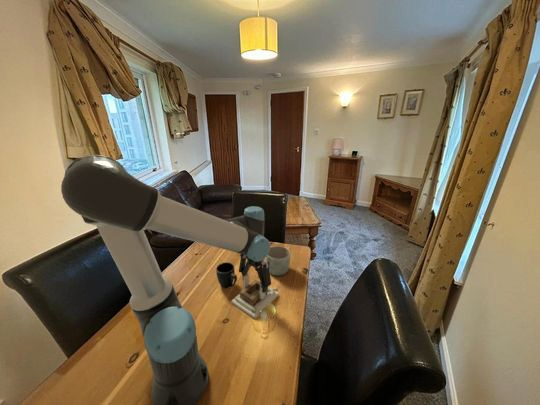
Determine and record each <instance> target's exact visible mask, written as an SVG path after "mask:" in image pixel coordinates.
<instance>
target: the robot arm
mask: <svg viewBox="0 0 540 405" xmlns="http://www.w3.org/2000/svg"><path fill="white" fill-rule="evenodd" d="M60 188H61V189H60V190H61V195H62V199H63V201H64V202H65V204H66V205H67V206H68V207H69V208H70V209H71V210H72V211H73V212H75V213H76V214H77V215H79V216H80V217H81V218H82V220H83V222H84V223H85V224H88V225H91V226H96V228H97V230H98V233H99V235H100V236H101V238H102V240H103V243H104V244H105V247H106V248H107V249H108V251H109V253H110V255H111V257H112V259H113V261H114V262H115V265H116V267H117V269H118V271H119V272H120V275H121V276H122V278H123V280H124V282H125V284H126V286H127V288H128V290H129V291H130V294H131V296H130V299H129V307H130V308H131V310H132V312H133V314H134V315H135V317H136V319H137V321H138V324H139V327H140V330H141V334H142V337H143V343H144V347H145V351H146V352H147V355H148V361H149V363H150V367H151V371H152V375H153V378H152V384H151V388H150V399H151V402H152V405H197V404H198V403H199V402H200V401H201V399H202V398H203V395H204V394H205V392H206V390H207V387H208V383H209V368H208V365H207V363H206V361H205V359H204V358H203V357H202V355H201V354H200V352H199V347H198V338H197V332H196V330H197V327H196V323H195V320H194V318H193V315H192V313H191V312H190V311H189V310H188V309H186V308H185V307H183V305H182V304H181V301H180V300H179V298H178V295H177V293H176V290H175V288H174V285H173V283H172V281H171V280H170V279H169V278H164V276H163V273H162V271H161V269H160V266H159V264H158V262H157V259H156V257H155V254H154V252H153V250H152V247H151V245H150V242H149V240H148V237H147V235H146V233H145V230H149V231H154V232H157V233H161V234H164V235H169V236H171V237H172V236H173V237H176V238H180V239H183V240H188V241H192V242H195V243H199V244H202V245H203V244H204V245H207V246H210V247H215V248H218V249H223V250H226V251H230V252H232V253H233V252H234V253H237V254H239V255H240V256H239V257H240V258H239V259H240V261H239V266H238V273H241V276H242V281H243V289H245V288H246V287H247V286H249V285H250V273H249V270H250V269H251V267H253V268H254V270H255V272H256V273H257V275H258V279H259V282H261V285H260V299H261V300H262V299H263V298H264V297H265V292H266V291H267V287H270V285H272V280H271V273H270V272H269V262H266V261H264V260H266V257H267V255H268V253H269V251H270V247H271V242H270V241H269V239H267V238H266V237H265V220H266V219H265V210H264V208H262V207H260V206H254V205H253V206H248V207H246V208H244V212H243V215H240V216H236V217H235V216H234V217H232V218H227V219H223V218H220V217H217V216H215V215H212V214H210V213H207V212H204V211H202V210H199V209H197V208H194V207H191V206H189V205H187V204H184V203H180V202H178V201H177V200H173V199H171V198H168V197H165V196H163V195H161V192H160V190H159V189H158V188H156V187H155V186H154V187H153V186H151V185H148V184H147V183H144V182H143V181H141V180H139V179H137V178H136V177H135V176H133V175H131V174H130V173H129V172H128V171H127V170H126V169H125V167H124V166H123V165H122V163H120V162H119V161H118V160H116V159H114V158H112V157H110V156H107V155H100V154H93V155H86V156H82V157H79V158H77V159H75V160H73V161H72V162H71V163H70V164H69V165H68V166H67V167H66V170H65V172H64V177H63V179H62V181H61V185H60Z"/></svg>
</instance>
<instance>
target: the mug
mask: <svg viewBox="0 0 540 405" xmlns="http://www.w3.org/2000/svg"><path fill="white" fill-rule="evenodd" d="M215 270H216V279H217V280H218V283H219V285H220V287H221V288H222V289H229V288H234V286H235V285H236V283H237V281H238V275H237V274H235V270H236V269H235V265H234V264H233V263H231V262H222V263H220V264H218V265H217V266H216V268H215Z"/></svg>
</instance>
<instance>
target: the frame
mask: <svg viewBox="0 0 540 405" xmlns="http://www.w3.org/2000/svg"><path fill="white" fill-rule="evenodd" d="M260 285H261V282H260V280H258V281H257V279H255V280H254V281H253V282H251V283H249V286H247V287H246V288H245V289H244V288H243V289H242V290H240V292H239V294H240V298H241V299H243V300H244V301H246V302H247V303H249V304H250V305H252V306H254V305H255V304H256V303H257V302H259V301H260V300H261V299H260ZM268 287H269V286H268ZM268 287H267V291H266V292H265V295H266V294H267V293H268ZM255 290H258V292H256V293H255V294H254V295H253V296H252V295H250V294H251V293H253V292H254V291H255Z"/></svg>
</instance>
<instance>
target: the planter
mask: <svg viewBox="0 0 540 405" xmlns="http://www.w3.org/2000/svg"><path fill="white" fill-rule="evenodd" d="M291 254H292V252H291V250H290V249H289V248H287V247H286V246H281V245H274V246H270V251H269V253H268V255H267V257H266V258H265V260H266V261H265V262H266V263H267V262H269V272H270V275H273V276H284V275H285V274H286V273H287V272H289V269H290V265H291Z"/></svg>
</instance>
